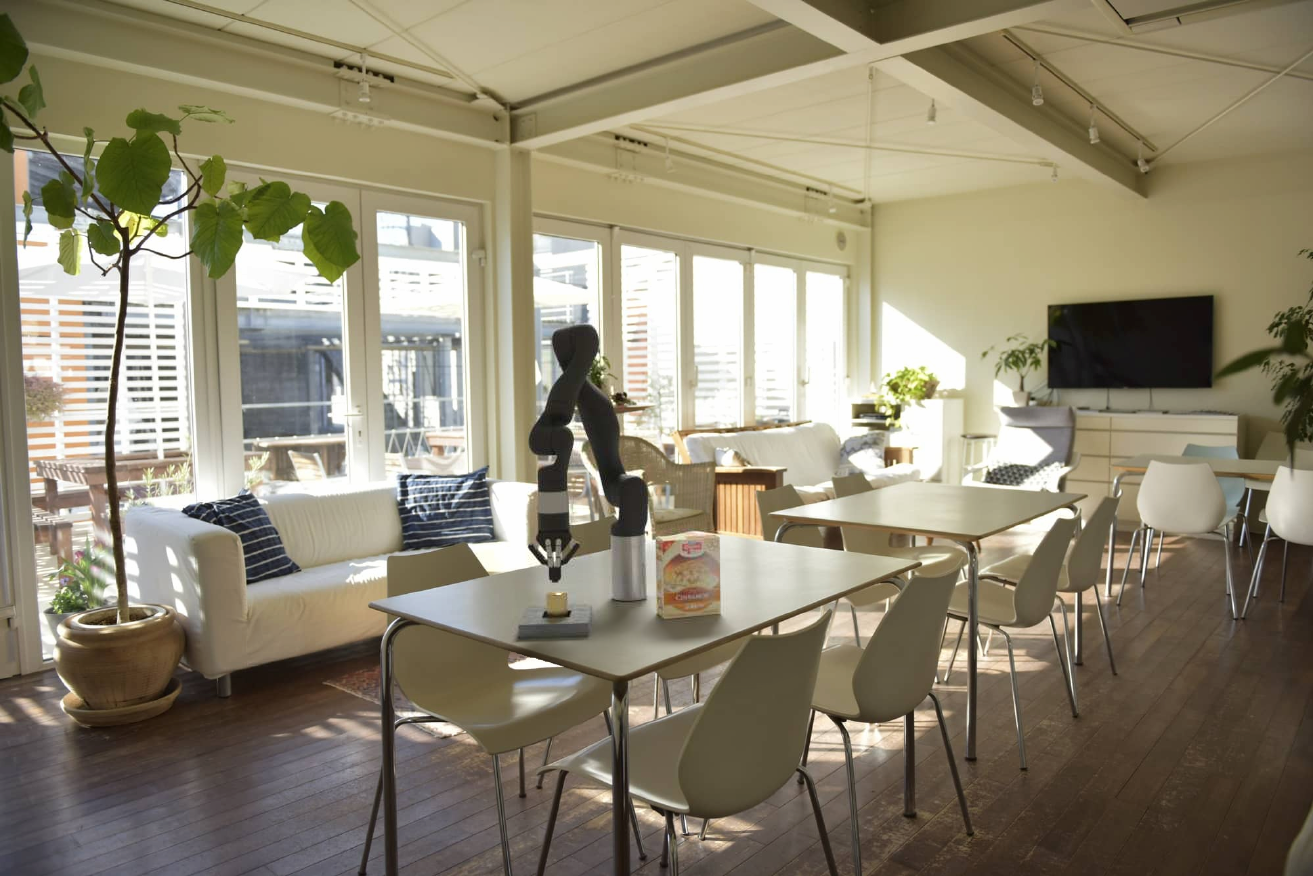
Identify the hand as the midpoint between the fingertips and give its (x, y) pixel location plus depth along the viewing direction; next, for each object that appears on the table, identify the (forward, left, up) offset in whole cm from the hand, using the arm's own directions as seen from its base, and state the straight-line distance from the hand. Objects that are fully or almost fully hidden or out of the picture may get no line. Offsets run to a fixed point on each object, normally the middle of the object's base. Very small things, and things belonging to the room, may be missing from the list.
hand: (555, 581), depth 220 cm
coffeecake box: (-32, -9, -11) cm, 35 cm away
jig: (0, 0, -11) cm, 11 cm away
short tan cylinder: (0, 0, -11) cm, 11 cm away
